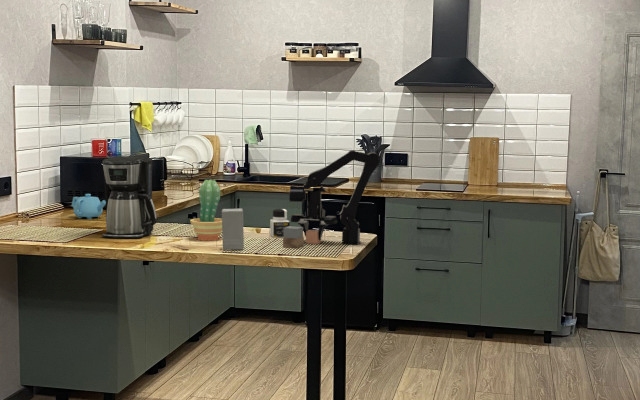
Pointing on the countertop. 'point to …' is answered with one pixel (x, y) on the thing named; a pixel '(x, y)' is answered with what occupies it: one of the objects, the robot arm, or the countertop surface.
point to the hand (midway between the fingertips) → (313, 239)
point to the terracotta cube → (312, 237)
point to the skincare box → (232, 229)
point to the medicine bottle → (278, 223)
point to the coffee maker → (128, 197)
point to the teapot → (87, 206)
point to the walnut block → (293, 242)
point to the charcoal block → (293, 232)
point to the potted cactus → (208, 212)
